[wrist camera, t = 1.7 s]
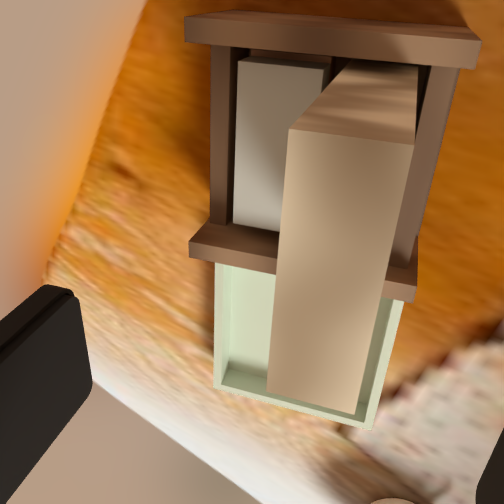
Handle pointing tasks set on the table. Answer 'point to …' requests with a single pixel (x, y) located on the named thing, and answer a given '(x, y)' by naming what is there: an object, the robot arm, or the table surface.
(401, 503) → the teacup
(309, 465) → the table surface
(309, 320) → the block
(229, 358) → the tray
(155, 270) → the table surface
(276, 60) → the offcut top
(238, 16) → the rack
